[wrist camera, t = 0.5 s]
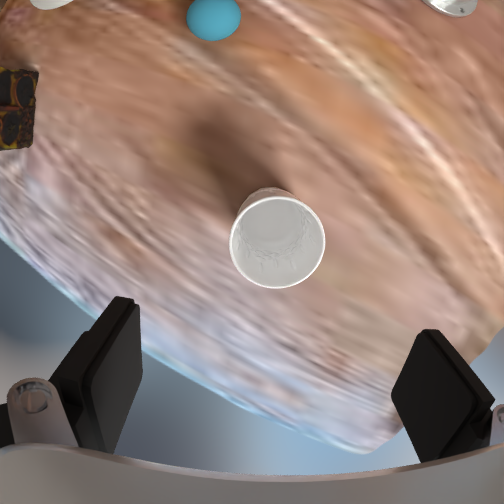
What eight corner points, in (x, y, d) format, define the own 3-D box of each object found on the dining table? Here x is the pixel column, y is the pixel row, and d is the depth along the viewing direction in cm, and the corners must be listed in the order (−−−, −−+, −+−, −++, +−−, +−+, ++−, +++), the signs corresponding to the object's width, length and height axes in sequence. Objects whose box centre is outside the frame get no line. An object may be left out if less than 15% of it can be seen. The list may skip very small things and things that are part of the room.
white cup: (224, 236, 36) (215, 270, 27) (249, 170, 34) (249, 181, 25) (289, 259, 37) (301, 300, 28) (316, 197, 35) (340, 218, 26)
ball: (210, -2, 27) (203, -23, 22) (251, 18, 28) (251, -1, 23) (181, 34, 29) (170, 17, 24) (222, 55, 30) (217, 40, 25)
